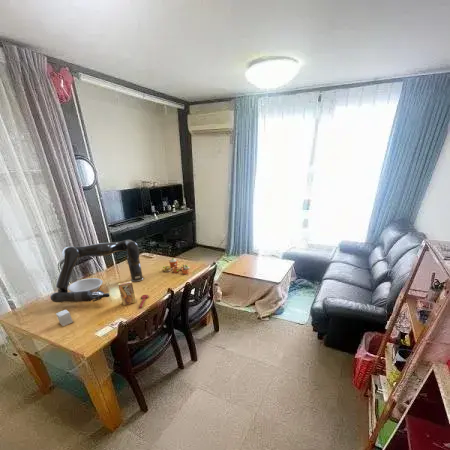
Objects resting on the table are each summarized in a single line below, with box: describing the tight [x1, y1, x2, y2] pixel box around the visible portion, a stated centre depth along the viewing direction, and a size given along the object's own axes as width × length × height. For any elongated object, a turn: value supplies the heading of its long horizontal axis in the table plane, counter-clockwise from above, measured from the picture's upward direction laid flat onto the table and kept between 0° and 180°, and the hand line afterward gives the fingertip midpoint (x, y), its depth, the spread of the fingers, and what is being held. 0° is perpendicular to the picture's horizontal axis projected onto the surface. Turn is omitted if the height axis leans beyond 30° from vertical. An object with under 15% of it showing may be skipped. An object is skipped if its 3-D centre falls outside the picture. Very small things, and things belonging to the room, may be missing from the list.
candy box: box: [117, 280, 137, 306], centre depth 177 cm, size 9×4×15 cm, turn 117°
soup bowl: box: [68, 277, 104, 292], centre depth 194 cm, size 24×24×7 cm
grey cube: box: [55, 309, 74, 327], centre depth 158 cm, size 6×6×7 cm
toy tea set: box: [162, 257, 190, 275], centre depth 229 cm, size 26×16×10 cm, turn 68°
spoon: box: [138, 294, 149, 309], centre depth 181 cm, size 17×5×1 cm, turn 4°
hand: (109, 295), depth 177 cm, fingers closed
